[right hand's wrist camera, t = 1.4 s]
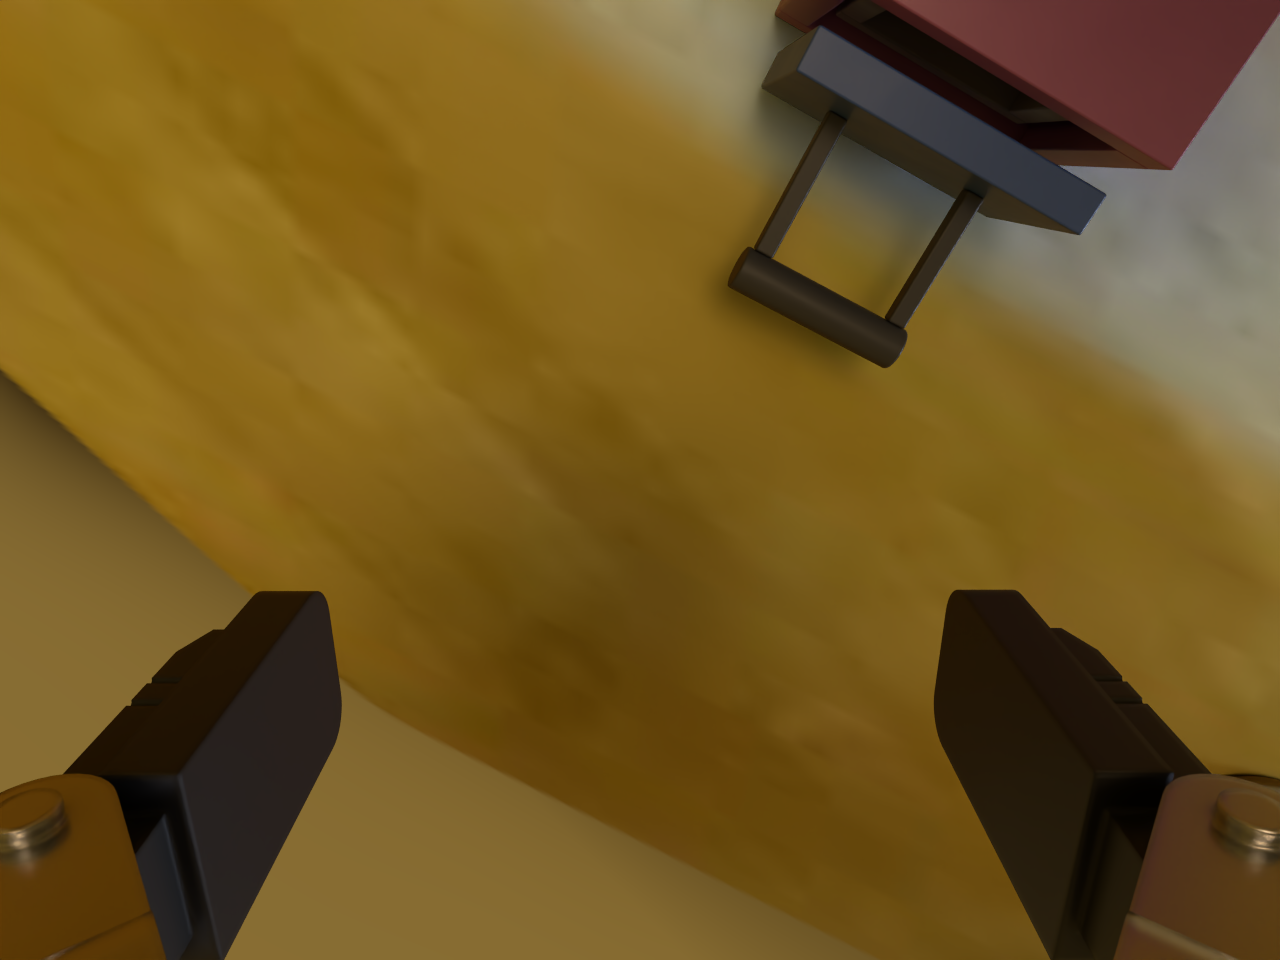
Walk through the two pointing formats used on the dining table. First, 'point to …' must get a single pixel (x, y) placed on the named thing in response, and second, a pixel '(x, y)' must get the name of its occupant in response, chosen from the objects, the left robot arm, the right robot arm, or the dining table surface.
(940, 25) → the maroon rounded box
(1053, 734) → the right robot arm
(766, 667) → the dining table surface
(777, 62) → the drawer
